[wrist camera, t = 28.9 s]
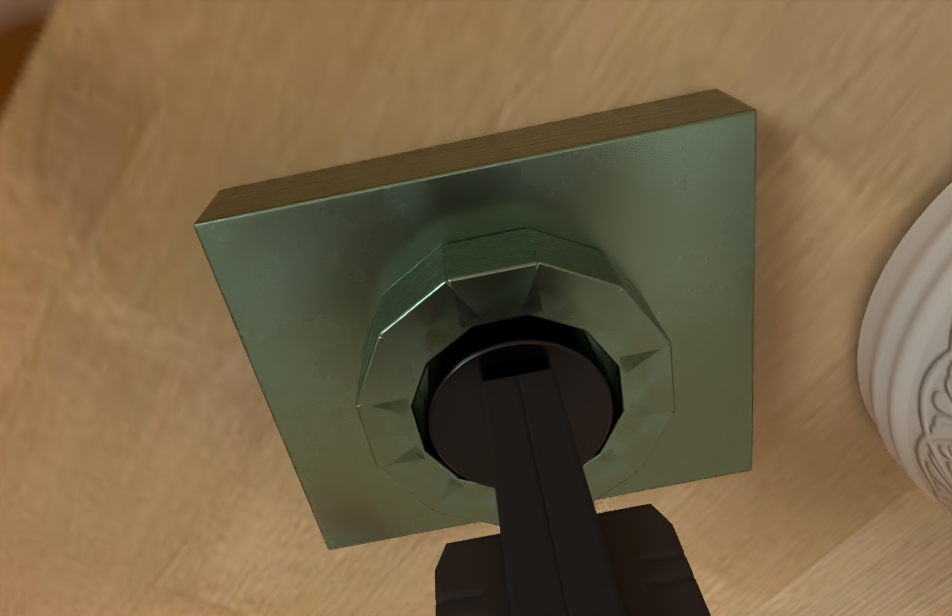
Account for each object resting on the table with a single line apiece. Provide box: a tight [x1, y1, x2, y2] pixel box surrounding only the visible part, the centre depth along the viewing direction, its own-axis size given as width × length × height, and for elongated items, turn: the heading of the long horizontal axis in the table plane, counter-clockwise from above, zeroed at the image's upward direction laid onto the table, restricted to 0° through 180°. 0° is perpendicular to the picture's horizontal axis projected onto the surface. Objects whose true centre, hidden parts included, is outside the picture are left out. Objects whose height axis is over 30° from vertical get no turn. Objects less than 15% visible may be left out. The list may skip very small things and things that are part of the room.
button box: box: [194, 89, 756, 550], centre depth 17 cm, size 12×10×4 cm
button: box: [428, 316, 613, 488], centre depth 16 cm, size 4×4×2 cm
